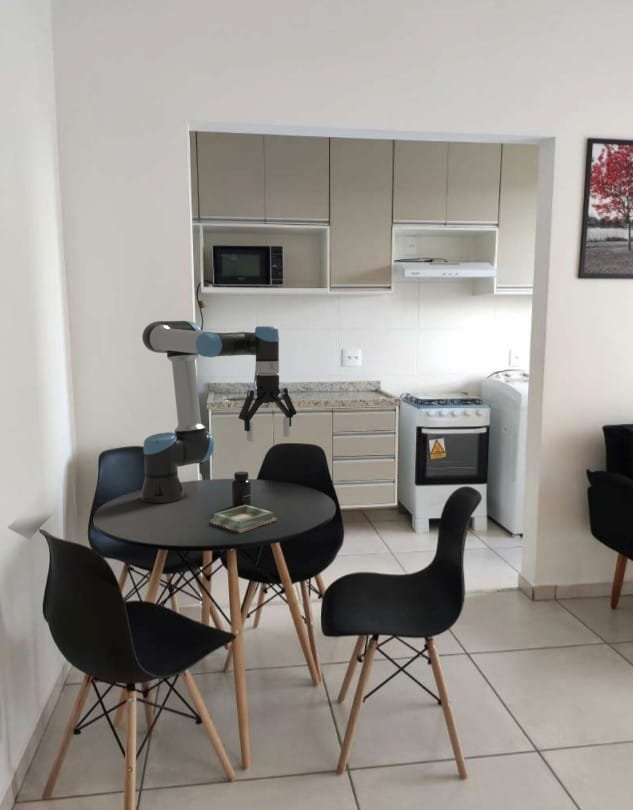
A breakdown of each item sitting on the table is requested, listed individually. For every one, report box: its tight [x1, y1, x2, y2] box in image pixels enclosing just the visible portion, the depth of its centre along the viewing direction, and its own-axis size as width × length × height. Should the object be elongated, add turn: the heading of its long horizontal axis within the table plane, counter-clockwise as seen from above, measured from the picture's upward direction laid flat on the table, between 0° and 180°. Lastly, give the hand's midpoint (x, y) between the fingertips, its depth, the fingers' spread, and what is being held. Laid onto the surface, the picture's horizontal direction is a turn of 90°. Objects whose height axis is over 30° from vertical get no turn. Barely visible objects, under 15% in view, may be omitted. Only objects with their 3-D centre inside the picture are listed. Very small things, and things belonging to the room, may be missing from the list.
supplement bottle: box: [231, 470, 253, 508], centre depth 214 cm, size 7×7×12 cm
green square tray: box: [209, 505, 278, 534], centre depth 197 cm, size 15×15×3 cm
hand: (268, 438), depth 203 cm, fingers open, 13 cm apart
